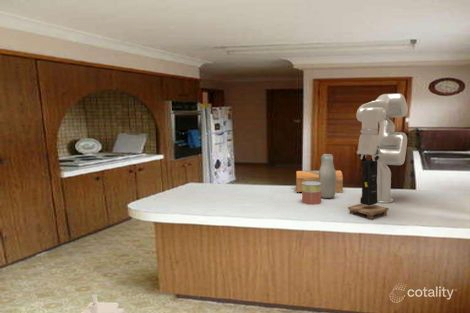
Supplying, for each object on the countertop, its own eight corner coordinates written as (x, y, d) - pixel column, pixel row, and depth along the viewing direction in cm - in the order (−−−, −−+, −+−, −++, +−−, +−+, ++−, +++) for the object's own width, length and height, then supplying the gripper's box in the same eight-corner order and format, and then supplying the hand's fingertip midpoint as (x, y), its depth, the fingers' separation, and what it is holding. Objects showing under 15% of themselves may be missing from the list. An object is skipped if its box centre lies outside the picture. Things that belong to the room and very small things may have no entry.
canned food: (314, 199, 207) (314, 180, 205) (324, 204, 196) (325, 184, 195) (298, 201, 204) (298, 182, 202) (308, 206, 193) (307, 186, 191)
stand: (348, 213, 177) (348, 206, 177) (365, 208, 185) (365, 202, 184) (371, 220, 165) (371, 213, 165) (388, 214, 173) (388, 208, 172)
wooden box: (339, 187, 235) (339, 168, 233) (343, 193, 219) (343, 173, 217) (296, 187, 240) (295, 168, 238) (296, 193, 224) (296, 173, 222)
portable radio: (368, 206, 169) (370, 157, 166) (358, 203, 174) (359, 156, 171) (378, 203, 174) (379, 156, 170) (368, 201, 179) (369, 155, 175)
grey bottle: (330, 195, 215) (330, 152, 211) (338, 199, 205) (338, 154, 201) (316, 196, 213) (316, 153, 209) (323, 200, 203) (323, 155, 199)
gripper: (350, 132, 174) (350, 166, 177) (380, 133, 160) (379, 170, 162) (360, 131, 178) (359, 164, 181) (389, 132, 164) (388, 168, 166)
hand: (368, 167), depth 172 cm, fingers closed on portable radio, 5 cm apart
